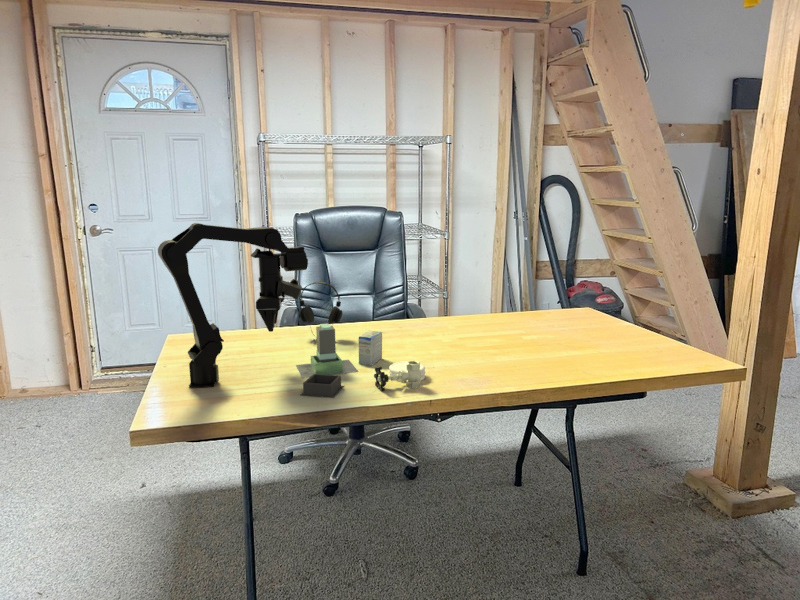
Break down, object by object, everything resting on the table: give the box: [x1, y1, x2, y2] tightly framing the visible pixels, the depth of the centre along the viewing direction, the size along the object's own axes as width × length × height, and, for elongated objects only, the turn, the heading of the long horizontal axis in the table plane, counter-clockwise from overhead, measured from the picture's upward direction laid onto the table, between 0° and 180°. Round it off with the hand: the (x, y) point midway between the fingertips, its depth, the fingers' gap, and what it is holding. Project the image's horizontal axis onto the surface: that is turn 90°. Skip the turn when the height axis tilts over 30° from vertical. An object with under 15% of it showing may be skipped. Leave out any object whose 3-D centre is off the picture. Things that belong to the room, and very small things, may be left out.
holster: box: [299, 374, 345, 399], centre depth 145 cm, size 9×9×4 cm
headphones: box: [298, 281, 343, 346], centre depth 193 cm, size 15×11×20 cm
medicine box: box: [358, 330, 383, 366], centre depth 170 cm, size 8×4×9 cm, turn 159°
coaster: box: [388, 360, 426, 383], centre depth 156 cm, size 10×10×4 cm
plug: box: [315, 323, 337, 363], centre depth 161 cm, size 5×5×13 cm
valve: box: [373, 360, 421, 392], centre depth 148 cm, size 7×7×12 cm
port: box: [295, 352, 359, 379], centre depth 162 cm, size 16×12×4 cm
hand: (272, 327), depth 159 cm, fingers open, 9 cm apart
